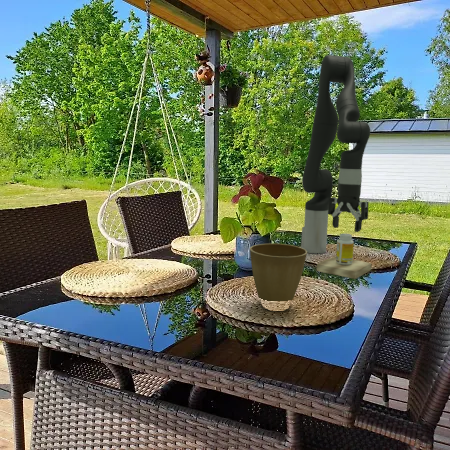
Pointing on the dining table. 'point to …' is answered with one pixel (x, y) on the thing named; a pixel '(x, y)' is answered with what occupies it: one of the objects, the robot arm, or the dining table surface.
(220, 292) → the dining table surface
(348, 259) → the supplement bottle
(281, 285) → the plant pot
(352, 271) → the birch board
